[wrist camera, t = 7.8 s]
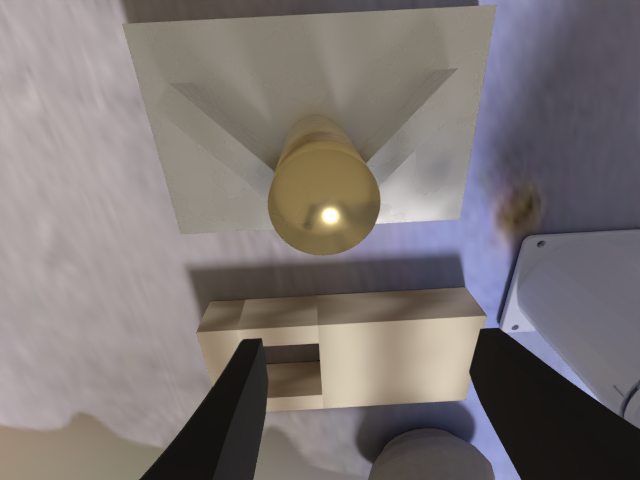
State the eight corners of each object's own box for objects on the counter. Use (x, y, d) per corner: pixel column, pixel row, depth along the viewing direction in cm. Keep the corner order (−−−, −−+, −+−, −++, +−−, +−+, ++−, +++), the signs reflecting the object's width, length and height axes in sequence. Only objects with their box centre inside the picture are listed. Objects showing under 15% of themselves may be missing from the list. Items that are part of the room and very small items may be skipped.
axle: (349, 115, 15) (387, 149, 8) (346, 179, 17) (374, 255, 10) (284, 114, 15) (264, 148, 8) (285, 179, 17) (270, 255, 10)
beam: (465, 287, 22) (487, 315, 20) (449, 366, 26) (465, 400, 23) (209, 301, 22) (196, 332, 19) (230, 379, 26) (220, 414, 23)
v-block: (479, 11, 15) (533, -10, 11) (449, 209, 19) (481, 239, 16) (139, 28, 15) (85, 13, 11) (189, 223, 19) (162, 256, 16)
